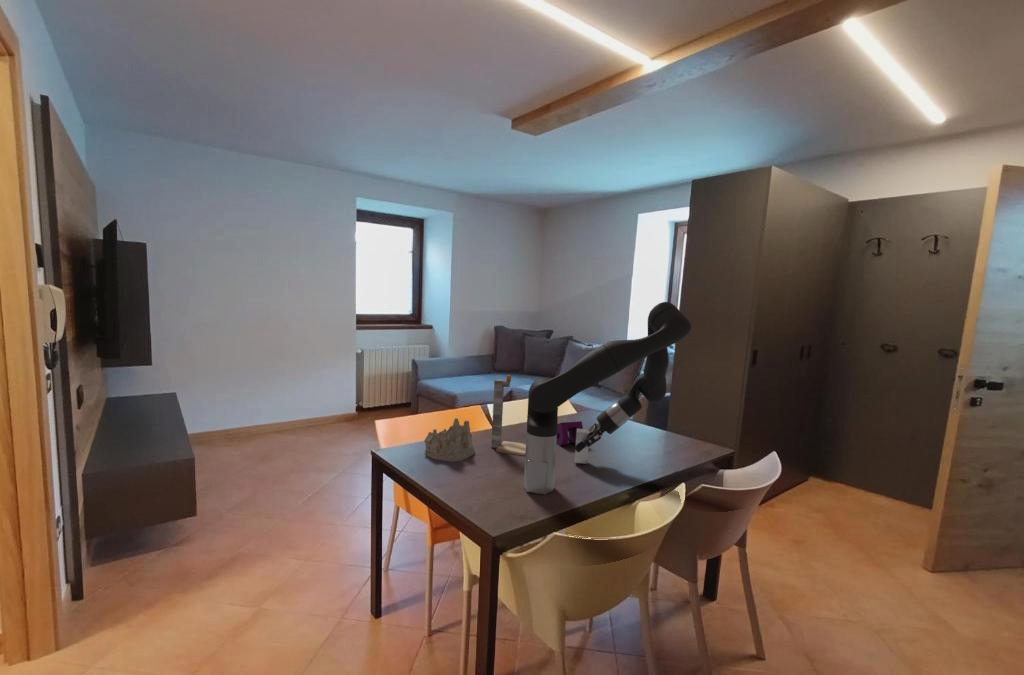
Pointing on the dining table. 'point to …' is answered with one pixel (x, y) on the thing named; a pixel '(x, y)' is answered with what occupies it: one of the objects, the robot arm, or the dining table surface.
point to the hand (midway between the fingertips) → (576, 447)
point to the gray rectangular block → (583, 454)
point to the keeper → (497, 422)
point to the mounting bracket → (563, 432)
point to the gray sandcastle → (450, 443)
